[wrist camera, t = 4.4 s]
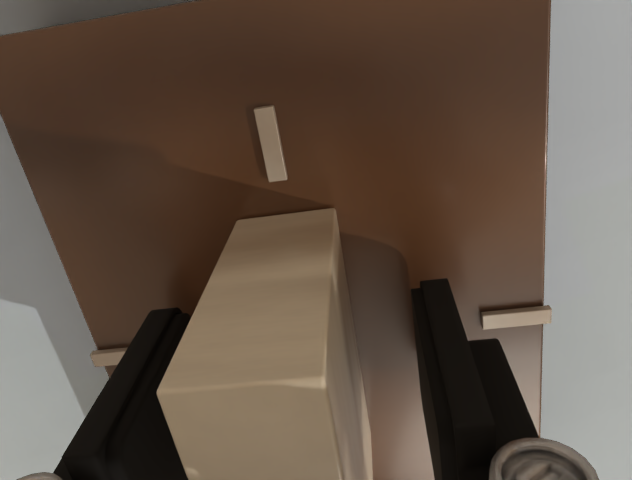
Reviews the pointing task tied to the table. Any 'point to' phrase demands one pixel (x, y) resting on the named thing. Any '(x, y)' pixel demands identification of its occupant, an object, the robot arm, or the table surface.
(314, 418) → the knob
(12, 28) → the table surface
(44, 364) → the table surface
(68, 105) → the panel
